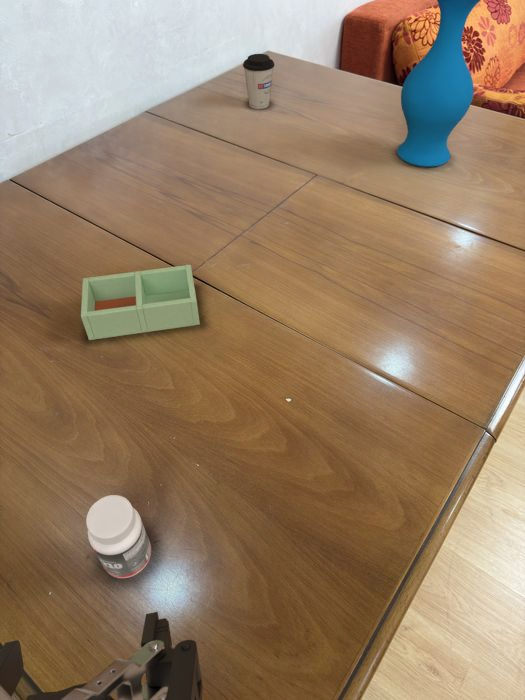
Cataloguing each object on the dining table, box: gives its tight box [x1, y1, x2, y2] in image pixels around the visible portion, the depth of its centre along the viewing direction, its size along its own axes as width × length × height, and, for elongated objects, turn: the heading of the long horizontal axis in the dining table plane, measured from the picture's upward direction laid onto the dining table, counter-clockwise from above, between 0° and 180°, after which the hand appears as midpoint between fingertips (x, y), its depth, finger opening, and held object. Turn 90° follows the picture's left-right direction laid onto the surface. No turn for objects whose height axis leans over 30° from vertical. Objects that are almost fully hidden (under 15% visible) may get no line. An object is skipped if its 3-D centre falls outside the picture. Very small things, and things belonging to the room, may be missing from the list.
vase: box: [396, 0, 481, 168], centre depth 95 cm, size 12×13×28 cm
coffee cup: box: [242, 53, 275, 110], centre depth 119 cm, size 7×7×10 cm
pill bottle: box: [85, 494, 152, 579], centre depth 49 cm, size 5×5×8 cm
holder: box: [80, 264, 201, 341], centre depth 74 cm, size 15×8×4 cm, turn 101°
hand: (86, 640), depth 34 cm, fingers open, 8 cm apart
